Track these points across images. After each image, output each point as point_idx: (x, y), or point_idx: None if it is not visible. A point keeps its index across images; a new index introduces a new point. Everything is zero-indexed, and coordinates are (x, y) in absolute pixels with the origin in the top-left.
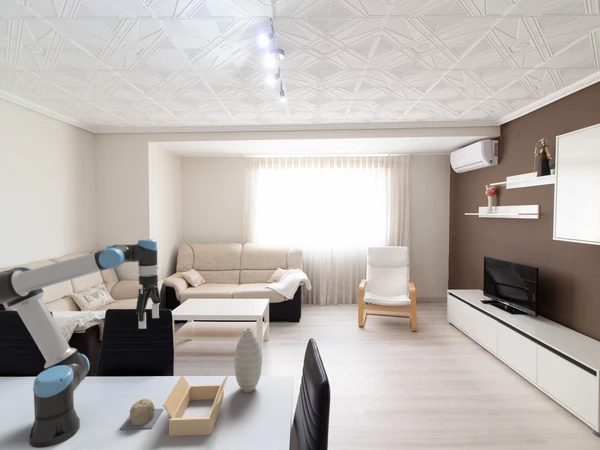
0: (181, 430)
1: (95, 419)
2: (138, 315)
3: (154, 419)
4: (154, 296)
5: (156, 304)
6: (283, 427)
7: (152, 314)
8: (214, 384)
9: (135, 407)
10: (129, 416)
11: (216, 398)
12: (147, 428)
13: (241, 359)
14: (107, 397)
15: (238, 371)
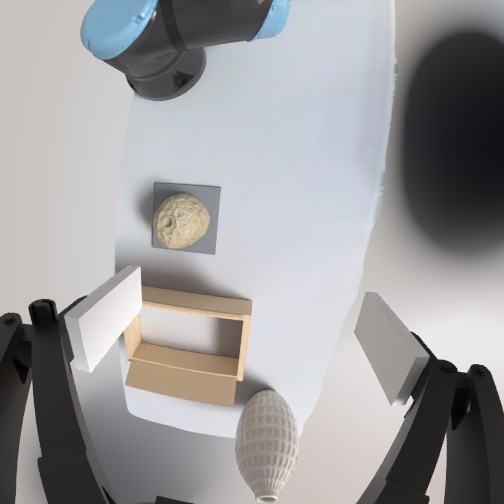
0: None
1: (200, 114)
2: (76, 305)
3: None
4: (371, 484)
5: (395, 392)
6: (157, 421)
7: (374, 307)
8: (244, 366)
9: (158, 214)
10: (194, 186)
11: (182, 371)
12: (153, 238)
13: (238, 445)
14: (292, 102)
15: (244, 419)
